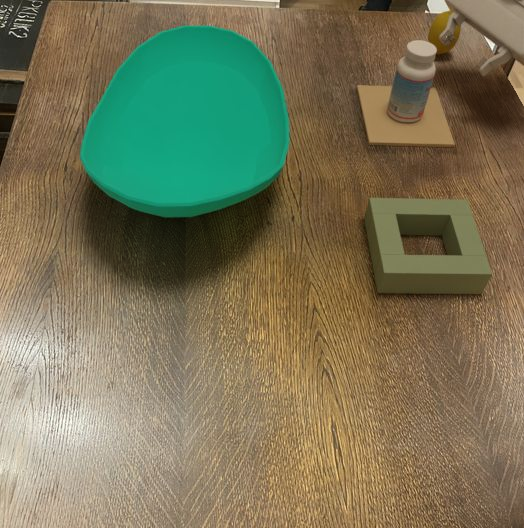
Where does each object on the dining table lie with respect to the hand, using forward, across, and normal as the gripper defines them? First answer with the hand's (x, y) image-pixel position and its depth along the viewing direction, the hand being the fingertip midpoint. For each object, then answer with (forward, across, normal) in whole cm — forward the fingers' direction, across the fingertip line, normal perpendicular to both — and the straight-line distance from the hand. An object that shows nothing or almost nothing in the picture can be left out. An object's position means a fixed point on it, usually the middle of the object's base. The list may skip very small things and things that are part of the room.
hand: (460, 56), depth 98 cm
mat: (+12, 0, 0) cm, 12 cm away
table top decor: (+40, 0, +28) cm, 49 cm away
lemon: (0, +14, -13) cm, 19 cm away
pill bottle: (+12, 0, 0) cm, 12 cm away
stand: (+24, -27, +12) cm, 38 cm away
